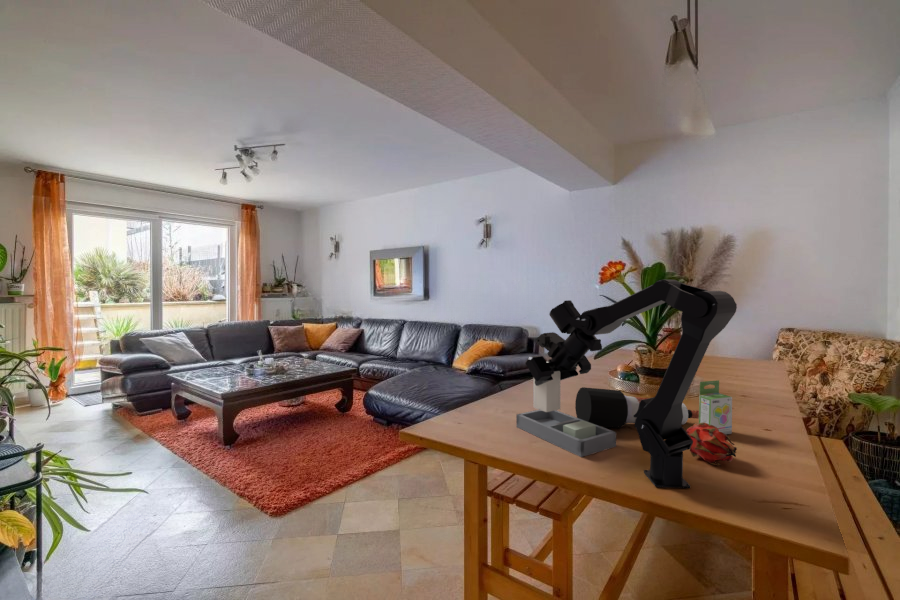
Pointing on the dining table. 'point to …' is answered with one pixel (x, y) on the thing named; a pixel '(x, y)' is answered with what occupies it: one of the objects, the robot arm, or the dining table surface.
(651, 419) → the robot arm
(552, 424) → the tray
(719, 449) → the dragon fruit
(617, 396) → the black and white bottle
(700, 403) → the ink box
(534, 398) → the cream block
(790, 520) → the dining table surface
